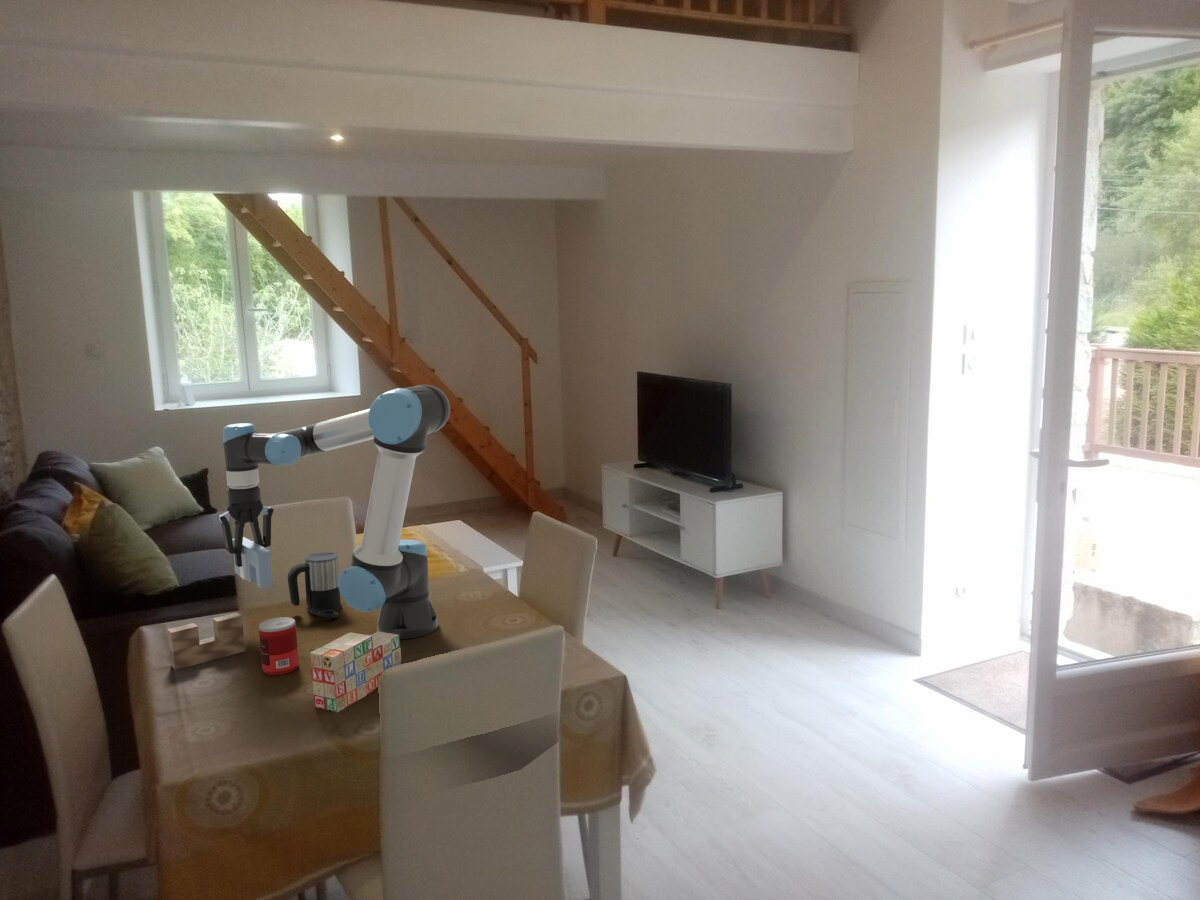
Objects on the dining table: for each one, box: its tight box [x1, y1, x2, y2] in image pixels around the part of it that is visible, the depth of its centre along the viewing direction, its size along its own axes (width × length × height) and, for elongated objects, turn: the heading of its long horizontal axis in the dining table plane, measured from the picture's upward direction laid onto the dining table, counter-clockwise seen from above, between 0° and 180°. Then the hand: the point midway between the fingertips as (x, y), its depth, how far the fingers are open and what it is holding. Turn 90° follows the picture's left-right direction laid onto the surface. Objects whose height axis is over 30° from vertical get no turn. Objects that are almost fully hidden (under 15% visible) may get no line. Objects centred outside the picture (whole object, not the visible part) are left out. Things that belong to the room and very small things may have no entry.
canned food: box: [258, 616, 299, 676], centre depth 206 cm, size 8×8×11 cm
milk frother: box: [287, 551, 343, 621], centre depth 242 cm, size 14×16×15 cm
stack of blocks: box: [309, 630, 402, 713], centre depth 194 cm, size 21×6×12 cm, turn 155°
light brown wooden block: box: [167, 612, 246, 671], centre depth 213 cm, size 16×3×9 cm, turn 132°
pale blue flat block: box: [232, 536, 274, 590], centre depth 226 cm, size 18×3×9 cm, turn 41°
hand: (251, 576), depth 228 cm, fingers closed on pale blue flat block, 3 cm apart
